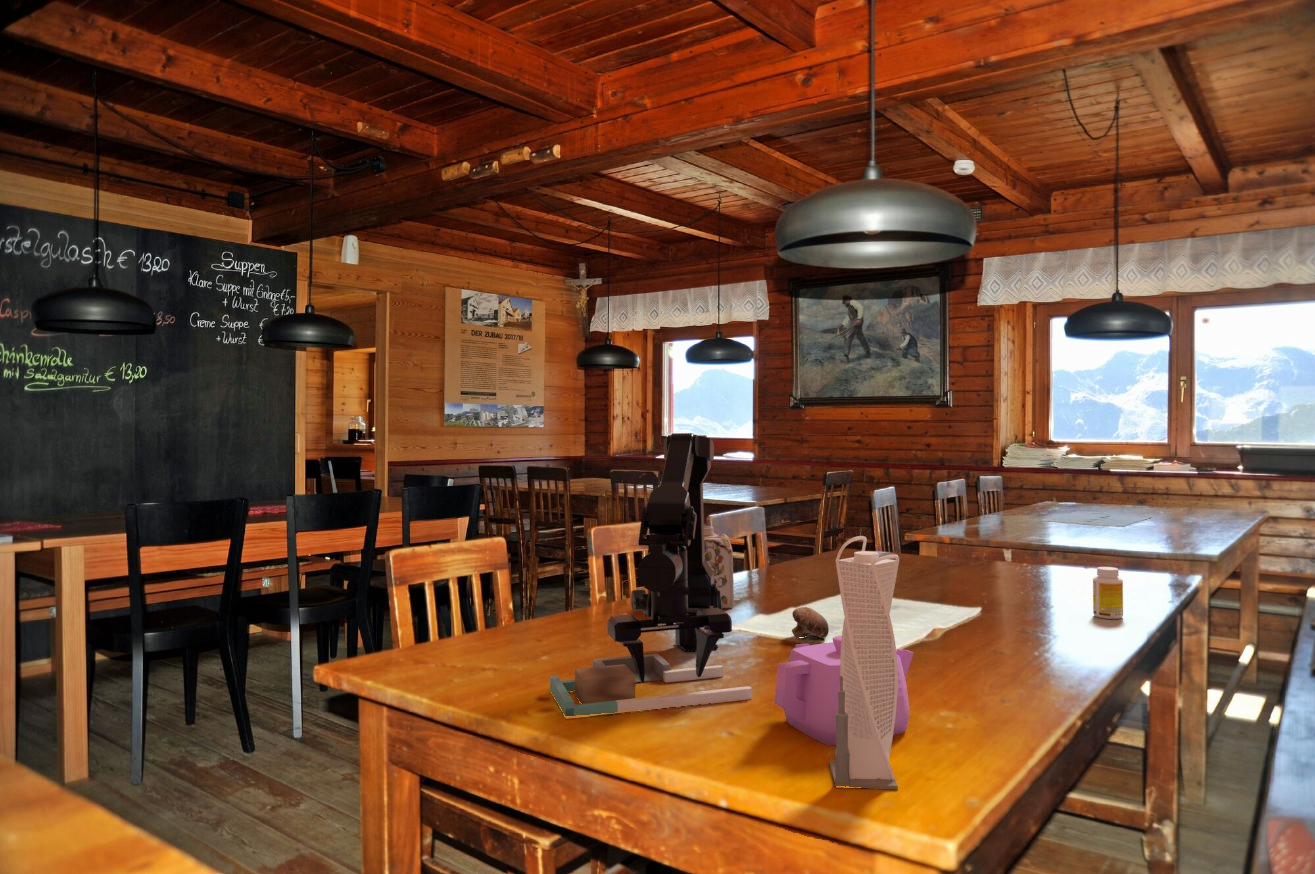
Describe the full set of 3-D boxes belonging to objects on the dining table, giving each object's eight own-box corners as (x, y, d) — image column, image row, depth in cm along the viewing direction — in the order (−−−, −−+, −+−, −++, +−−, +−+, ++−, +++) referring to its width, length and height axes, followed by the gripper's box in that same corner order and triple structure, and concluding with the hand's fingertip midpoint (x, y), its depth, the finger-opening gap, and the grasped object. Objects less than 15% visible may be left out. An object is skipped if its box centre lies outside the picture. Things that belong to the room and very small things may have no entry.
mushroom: (778, 623, 167) (796, 596, 168) (787, 630, 174) (805, 604, 175) (812, 648, 163) (831, 620, 164) (820, 654, 170) (838, 628, 171)
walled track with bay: (706, 663, 152) (706, 648, 152) (752, 698, 132) (751, 682, 132) (543, 679, 144) (542, 664, 144) (565, 719, 124) (565, 702, 124)
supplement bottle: (1129, 618, 181) (1129, 569, 181) (1106, 620, 180) (1105, 571, 179) (1109, 613, 186) (1109, 565, 186) (1087, 614, 185) (1086, 566, 185)
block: (625, 692, 137) (625, 664, 137) (635, 704, 131) (635, 674, 131) (575, 697, 135) (574, 668, 135) (583, 709, 129) (582, 679, 129)
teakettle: (771, 740, 115) (770, 647, 115) (796, 701, 131) (796, 619, 131) (904, 756, 109) (903, 658, 109) (914, 713, 125) (913, 627, 125)
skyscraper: (828, 759, 109) (825, 534, 108) (894, 760, 108) (892, 534, 107) (835, 787, 100) (833, 544, 100) (907, 789, 99) (905, 544, 99)
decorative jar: (676, 600, 206) (674, 524, 206) (724, 598, 208) (723, 522, 207) (683, 610, 194) (681, 530, 194) (734, 608, 196) (733, 528, 195)
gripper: (708, 567, 146) (709, 660, 146) (599, 574, 141) (600, 670, 141) (732, 578, 135) (733, 678, 136) (615, 587, 130) (616, 691, 130)
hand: (670, 679), depth 136 cm, fingers open, 9 cm apart
